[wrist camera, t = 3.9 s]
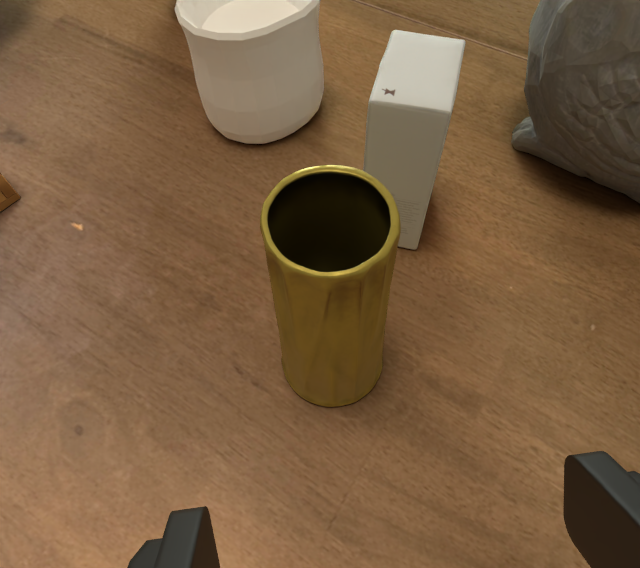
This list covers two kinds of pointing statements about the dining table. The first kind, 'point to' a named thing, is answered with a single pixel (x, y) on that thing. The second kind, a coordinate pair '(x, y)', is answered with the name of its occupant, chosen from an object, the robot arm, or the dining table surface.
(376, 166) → the cosmetic box
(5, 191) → the holder
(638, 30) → the figurine
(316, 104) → the cup
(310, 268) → the vase
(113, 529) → the dining table surface
